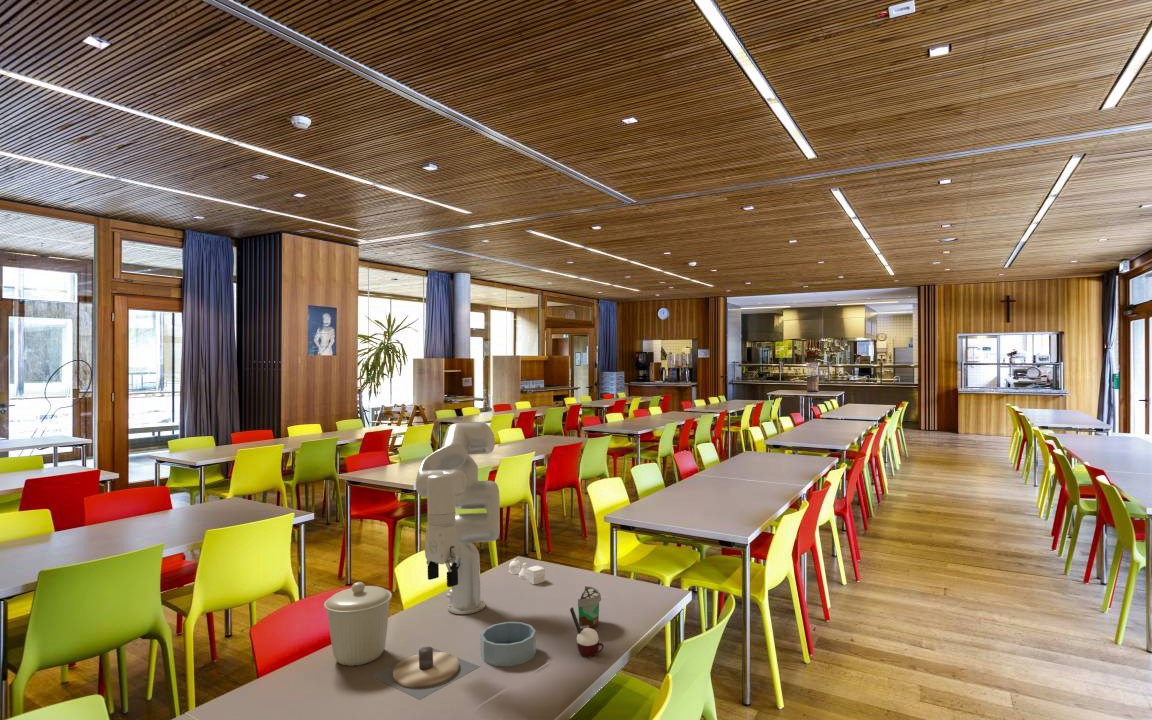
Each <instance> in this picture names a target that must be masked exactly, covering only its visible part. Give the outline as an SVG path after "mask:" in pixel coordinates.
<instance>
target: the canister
mask: <svg viewBox="0 0 1152 720" xmlns="http://www.w3.org/2000/svg"><path fill="white" fill-rule="evenodd" d="M392 597H393V593H392V592H391V591H390V590H388V589H385V588H384V587H381V586H376V585H366V584H365V583H364V582H362V581H357V582H354V583H353V584H352V586H351V588H347V589H343V590H340V591H339V592H336V593H334V594H333V595H331V597H330V596H329V598H327V599H326V600H325V602H324V603H323V607H324V609H325V610H326V612H327V621H328V627H329V636H330V642H331V648H332V652H333V657H334V659H335V661H337V662H338V663H339V664H341V665H343V666H346V665H348V666H349V667H353V666H354V665H356V666H362V665H365V664H369V663H371V662H373V661H375V660H376V659H378V658H380V656H382V654H383V652H384V650H385V646H386V642H387V632H388V622H389V611H390V601H391V600H392Z"/></svg>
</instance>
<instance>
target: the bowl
mask: <svg viewBox="0 0 1152 720" xmlns="http://www.w3.org/2000/svg"><path fill="white" fill-rule="evenodd" d="M536 631H537V630H536V629H535V628H534V627H533V626H532V624H528V623H525V622H521V621H507V622H506V621H505V622H500V623H495V624H492V625H490V626H488V627H486V628H484V629H483V630H482V632H481V634H480V635H479V637H480V639H479V640H480V642H479V643H480V657H481V660H482V661H483V663H486V664H488V665H491V666H494V667H513V666H518V665H522V664H525V663H526V662H528V661H530V660H533V658H534V657H535V655H536V654H537V636H536V635H537V632H536Z"/></svg>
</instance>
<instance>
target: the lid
mask: <svg viewBox="0 0 1152 720" xmlns="http://www.w3.org/2000/svg"><path fill="white" fill-rule="evenodd" d="M433 648H434V647H432V646H423V647H421V648H419V650H418V654H414V655H412V656H408V657H406V658H405V659H402V660H401V661H400V662H398V663H397V665H396V664H395V665H396V666H395V668H394V670H393V679H394V681H395V682H396V683H397V684H399V685H401V686H404V687H409V688H424V687H430V686H434V685H438V684H441V683H443V682H445V681H447V680H449V679H451V678H452V677H453V676H454V675H456V673H457V672H458V669H459V661H458V659H457V658H458V657H457V656H455V655H453V654H451V653H448V652H444V651H442V652H433ZM456 657H457V658H456Z"/></svg>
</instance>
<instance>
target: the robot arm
mask: <svg viewBox="0 0 1152 720" xmlns="http://www.w3.org/2000/svg"><path fill="white" fill-rule="evenodd" d="M495 446H496V438H495V434H494V432H493V430H492V427H490V425H488V424H487V423H486V422H481V421H474V422H471V421H470V422H455V423H452V424H450V425H449V426H448V427H447V429H446V430H445V434H444V437H443V441H442V445H441V447H440V448H439V449H437V450H435V451H434V452H432V453H431V454H430V455H427V456H426V457H425V458H424V459H423V460H422V461H421V464H420V465H419V469H418V472H417V474H416V477H415V478H416V479H415V489H416V492H417V494H418V495H419V496H421V497H425V498H427V525H426V529H425V530H426V531H425V539H424V540H425V541H424V542H425V545H424V547H423V549H424V556H425V557H424V558H426V565H427V579H428V581H430V580H431V581H432V580H434V579H438V578H440V577H439V575H440V573H439V569H440V568H439V565H444V564H445V566H446V569H447V571H446V587H447V588H451V589H450V590H449V591H448V593H446V598H449V599H450V602H449V603H448V604H447V611H448V612H450V613H452V614H455V615H469V614H474V613H478V612H480V611H483V609H484V608H485V607H486V600H484V599H482V597H481V567H480V565H481V562H480V553H479V550H478V549H477V547H476V546H475V545H474V544H473V543H489V542H495V541H497V539H498V538H499V537H500V530H501V527H500V526H501V525H500V524H501V522H500V520H501V519H500V517H501V516H500V514H501V513H500V512H501V511H500V510H501V509H500V508H501V507H500V506H501V504H500V501H501V500H500V499H501V498H500V488H499V485H498V483H497V482H495V481H493V480H479V467H478V464H477V462H476V461H475V460H474V459H473V458H472V457H471V455H488V454H491V453H492V452H493V451H494V449H495ZM456 509H459V510H485V511H486V512H477V513H476V512H470V513H467V512H466V513H459V514H458V513H457V514H456Z"/></svg>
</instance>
